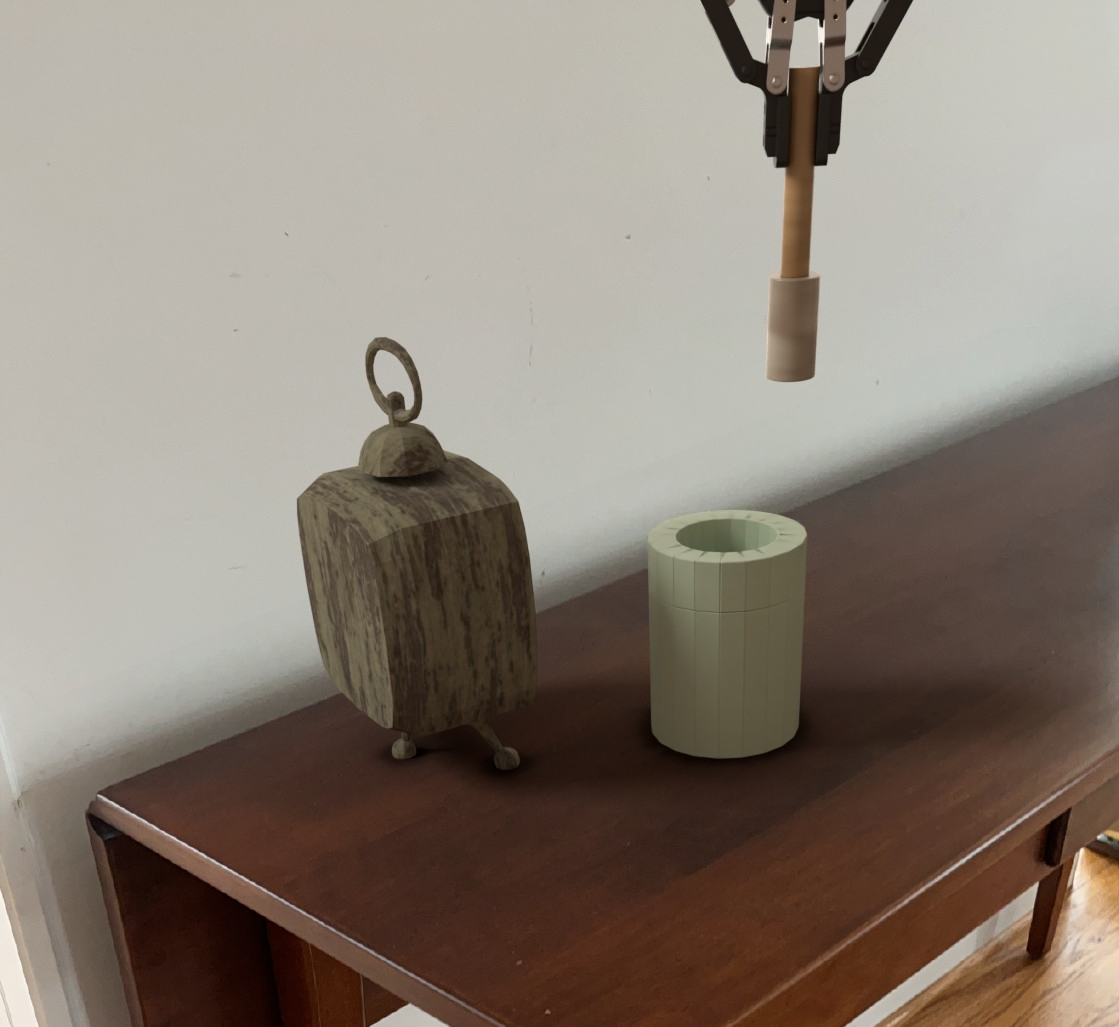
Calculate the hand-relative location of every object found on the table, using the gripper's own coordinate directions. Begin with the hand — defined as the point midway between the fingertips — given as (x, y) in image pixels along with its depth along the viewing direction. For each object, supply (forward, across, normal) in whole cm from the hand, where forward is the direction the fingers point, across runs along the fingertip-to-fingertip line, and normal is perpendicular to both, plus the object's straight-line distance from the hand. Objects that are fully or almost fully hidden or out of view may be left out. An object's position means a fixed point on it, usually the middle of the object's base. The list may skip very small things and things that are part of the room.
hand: (799, 164), depth 86 cm
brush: (+12, 0, 0) cm, 12 cm away
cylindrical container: (+31, +5, +14) cm, 34 cm away
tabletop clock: (+31, +24, +16) cm, 42 cm away
